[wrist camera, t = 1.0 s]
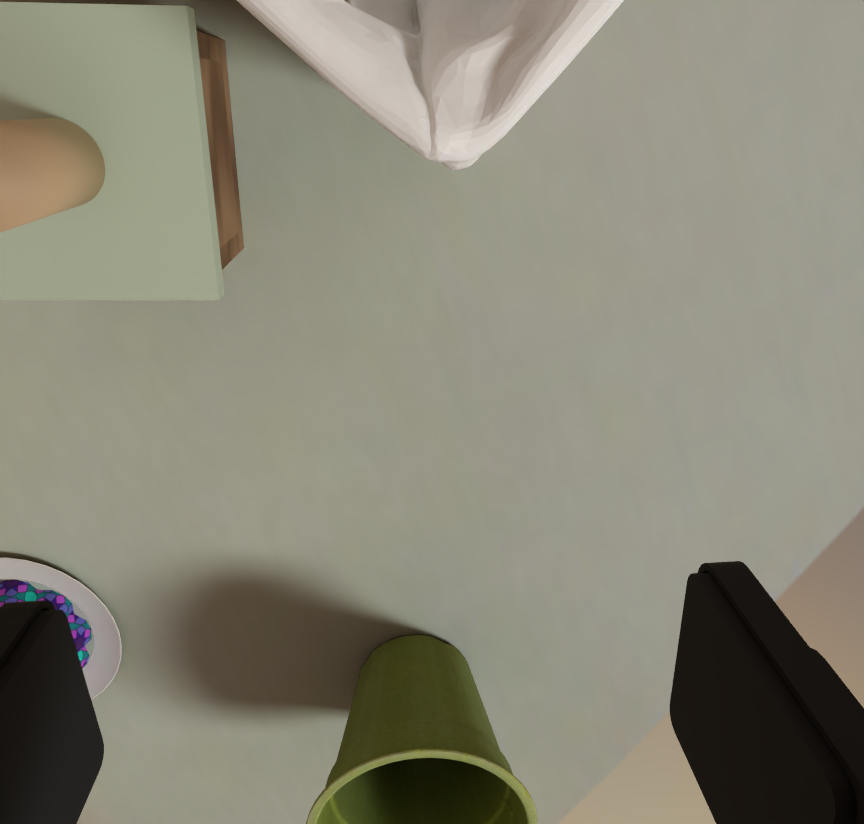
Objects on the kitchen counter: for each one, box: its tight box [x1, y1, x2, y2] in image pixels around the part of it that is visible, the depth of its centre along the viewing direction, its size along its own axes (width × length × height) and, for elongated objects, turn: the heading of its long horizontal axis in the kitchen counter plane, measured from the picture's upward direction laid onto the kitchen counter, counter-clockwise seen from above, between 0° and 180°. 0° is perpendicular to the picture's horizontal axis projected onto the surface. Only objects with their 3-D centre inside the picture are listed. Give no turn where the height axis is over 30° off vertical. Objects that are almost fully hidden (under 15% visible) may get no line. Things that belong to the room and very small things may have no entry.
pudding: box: [0, 558, 122, 700], centre depth 41 cm, size 12×12×5 cm
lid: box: [0, 2, 224, 300], centre depth 24 cm, size 10×10×8 cm
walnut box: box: [197, 31, 244, 269], centre depth 29 cm, size 9×9×7 cm
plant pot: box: [306, 635, 538, 824], centre depth 41 cm, size 12×12×11 cm
